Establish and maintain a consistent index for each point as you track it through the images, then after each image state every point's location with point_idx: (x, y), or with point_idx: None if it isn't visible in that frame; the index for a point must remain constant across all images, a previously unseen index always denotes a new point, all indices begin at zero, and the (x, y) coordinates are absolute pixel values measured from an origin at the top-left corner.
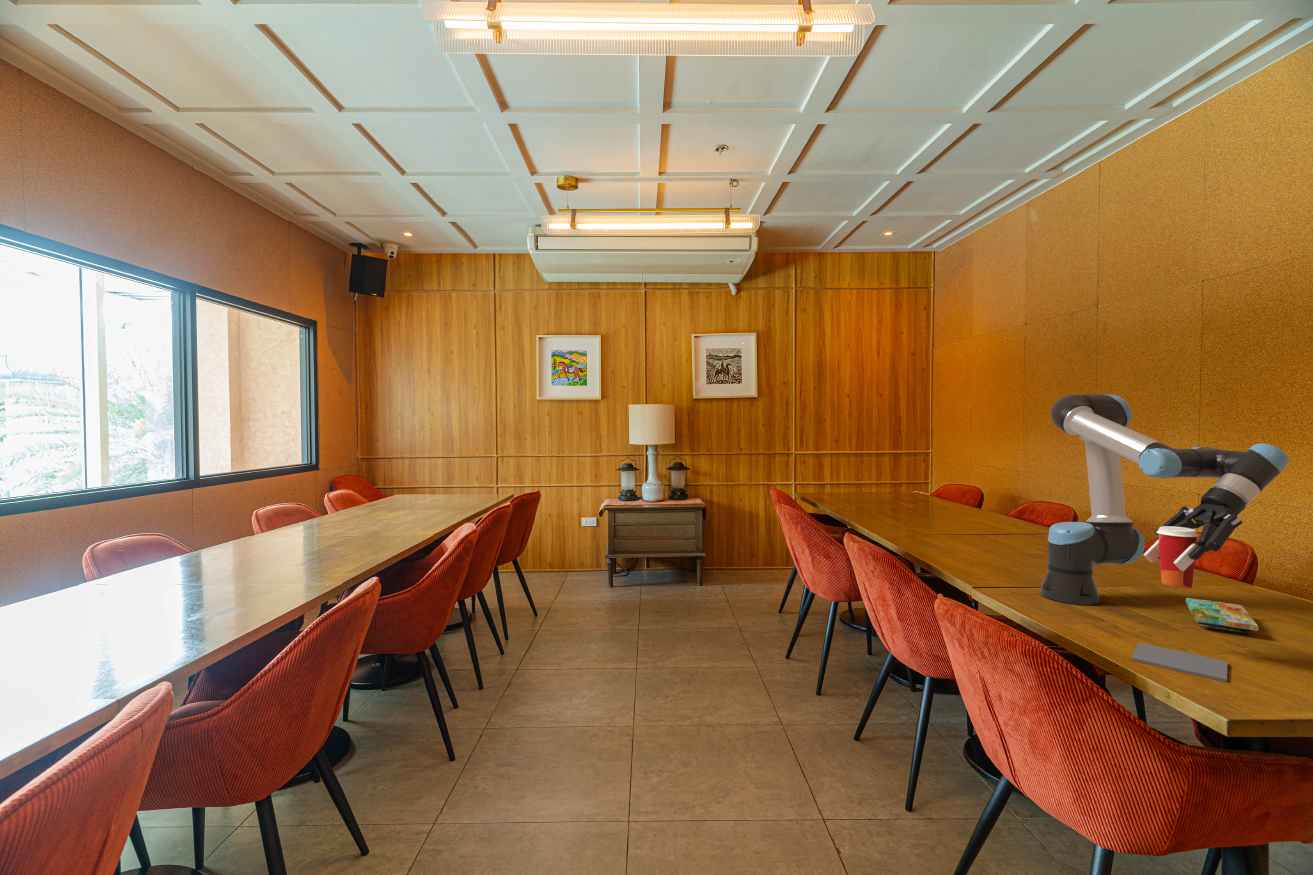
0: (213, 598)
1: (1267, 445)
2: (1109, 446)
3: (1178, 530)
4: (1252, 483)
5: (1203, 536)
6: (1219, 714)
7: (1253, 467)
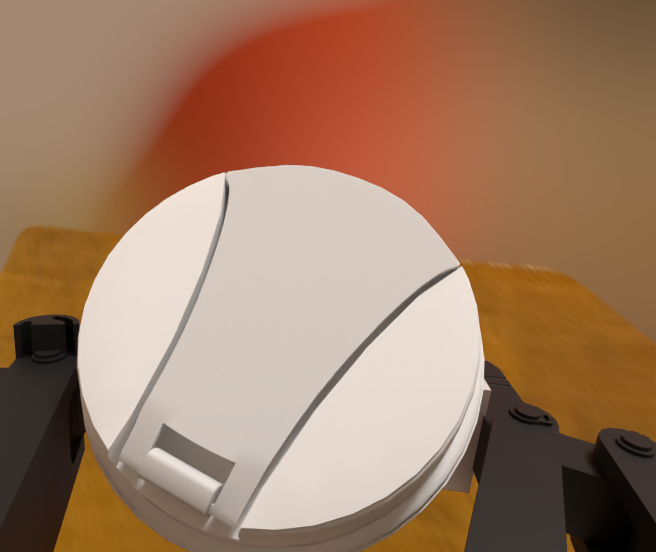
0: None
1: None
2: None
3: (182, 205)
4: None
5: (5, 412)
6: (36, 226)
7: None
